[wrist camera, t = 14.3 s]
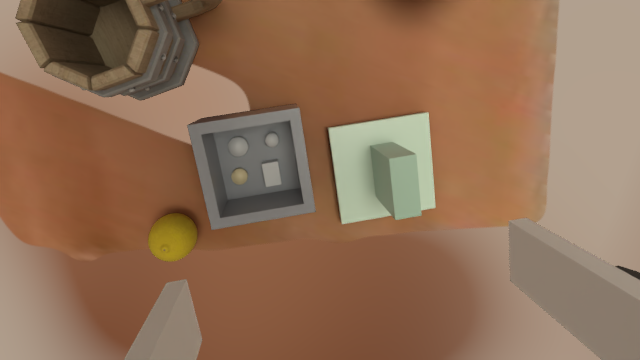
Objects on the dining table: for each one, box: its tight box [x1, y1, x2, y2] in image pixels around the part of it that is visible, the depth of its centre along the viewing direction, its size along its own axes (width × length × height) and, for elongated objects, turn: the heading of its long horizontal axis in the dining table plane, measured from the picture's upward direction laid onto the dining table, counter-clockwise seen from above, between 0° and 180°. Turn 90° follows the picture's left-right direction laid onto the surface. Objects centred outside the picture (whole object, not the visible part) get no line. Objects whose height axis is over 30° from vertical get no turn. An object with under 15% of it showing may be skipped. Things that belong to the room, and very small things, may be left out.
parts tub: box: [188, 104, 316, 230], centre depth 47 cm, size 12×12×8 cm
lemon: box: [148, 213, 197, 261], centre depth 48 cm, size 6×6×8 cm
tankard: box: [16, 0, 222, 100], centre depth 39 cm, size 20×13×15 cm, turn 110°
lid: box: [328, 112, 436, 224], centre depth 48 cm, size 13×13×11 cm
